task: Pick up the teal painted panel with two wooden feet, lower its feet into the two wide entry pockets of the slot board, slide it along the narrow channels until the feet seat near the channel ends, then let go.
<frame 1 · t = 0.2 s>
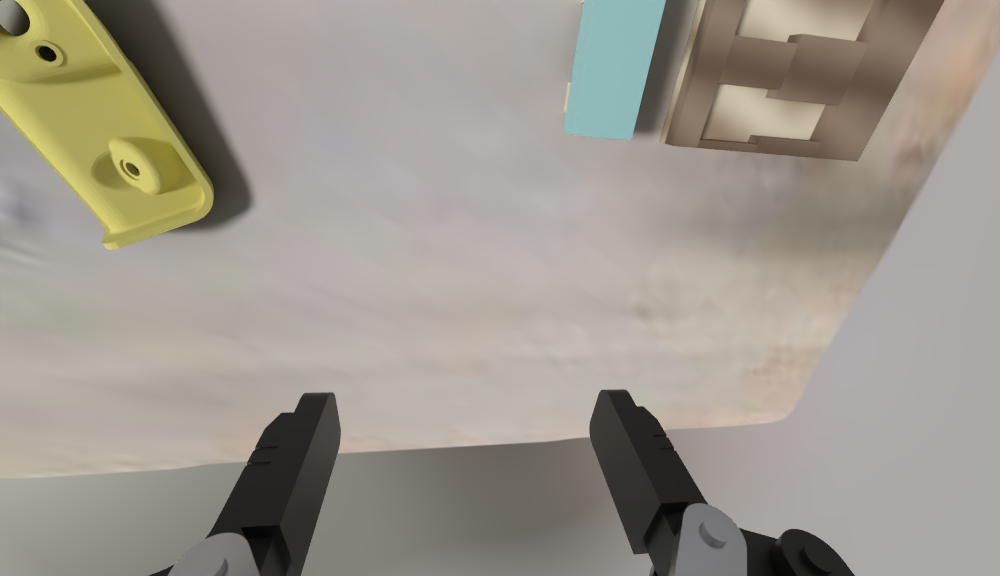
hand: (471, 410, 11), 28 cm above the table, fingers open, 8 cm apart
panel: (596, 47, 32), on the table
plastic component: (109, 106, 30), on the table
slot board: (782, 69, 34), on the table
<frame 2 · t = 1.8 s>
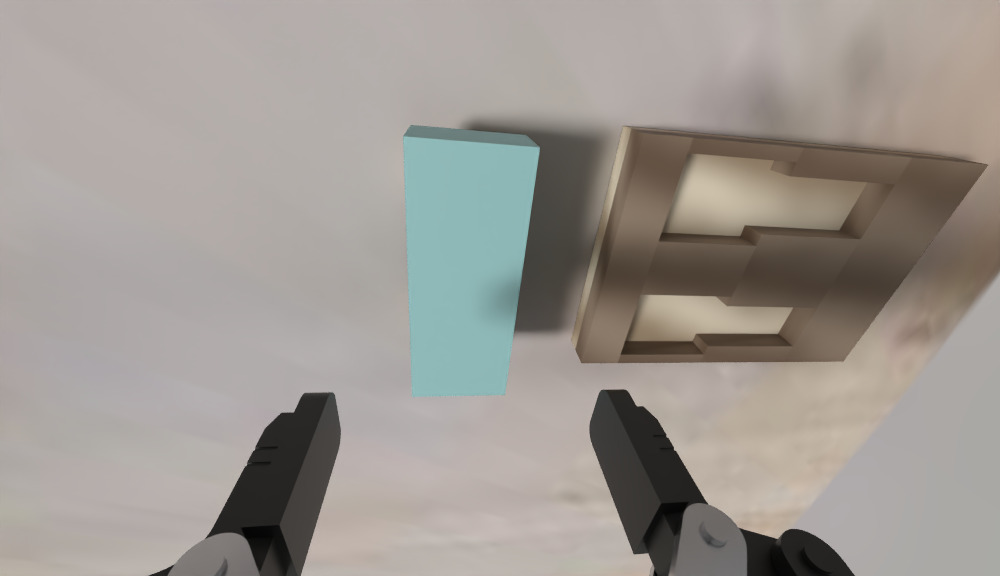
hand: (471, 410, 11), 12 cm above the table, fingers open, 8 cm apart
panel: (461, 244, 21), on the table
slot board: (739, 255, 24), on the table
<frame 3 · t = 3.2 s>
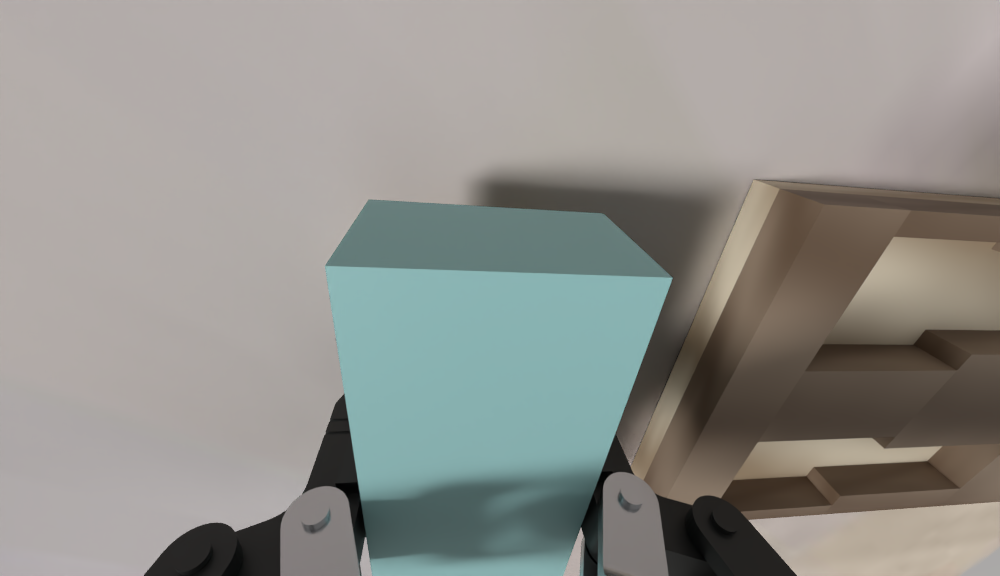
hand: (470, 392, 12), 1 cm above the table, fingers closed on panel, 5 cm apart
panel: (469, 362, 13), on the table, touching gripper
slot board: (891, 361, 16), on the table
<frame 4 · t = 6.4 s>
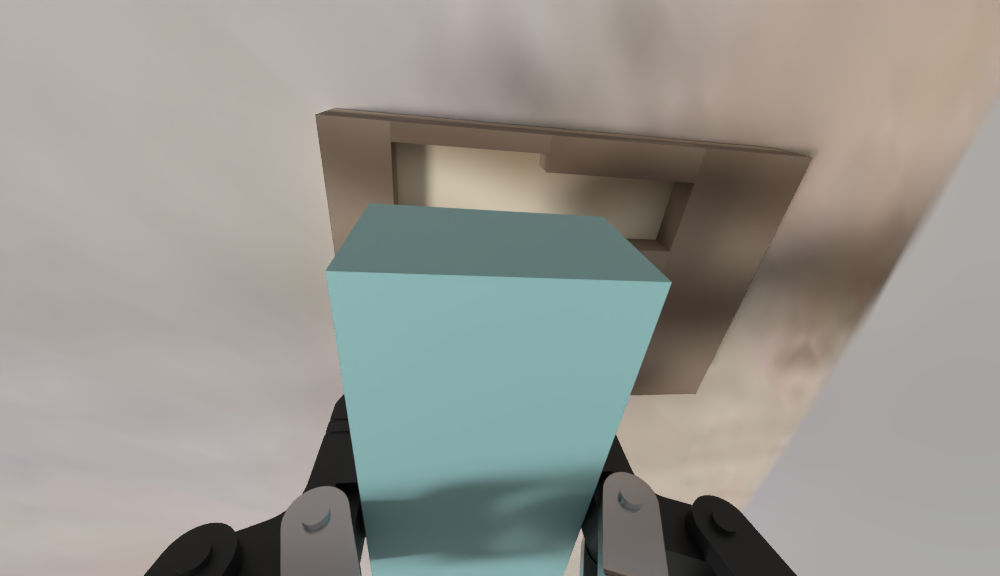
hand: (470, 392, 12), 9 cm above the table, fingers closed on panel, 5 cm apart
panel: (469, 364, 13), point 7 cm above the table, touching gripper
slot board: (547, 269, 20), on the table
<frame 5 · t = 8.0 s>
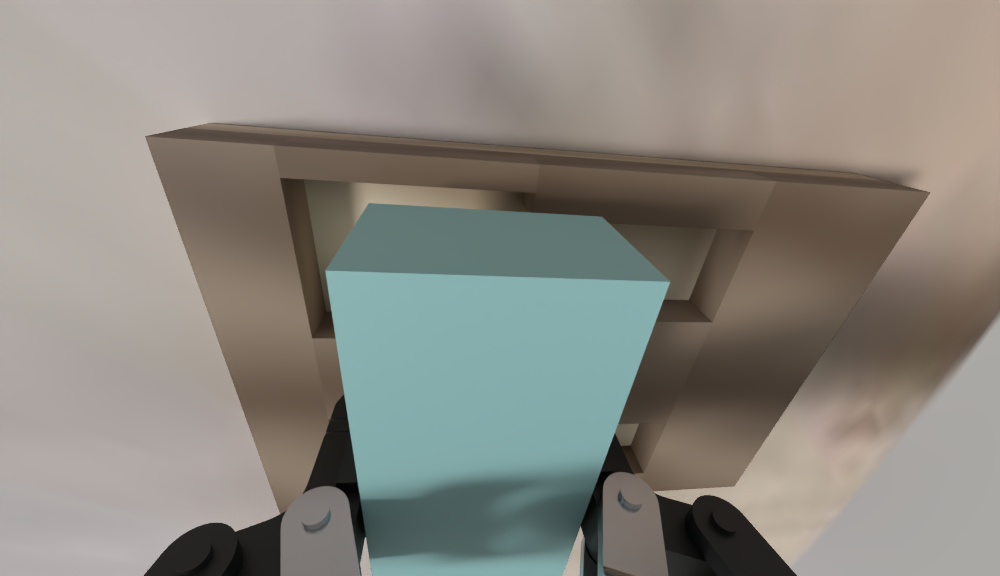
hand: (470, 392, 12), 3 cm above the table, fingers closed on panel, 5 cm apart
panel: (469, 364, 13), point 1 cm above the table, touching gripper
slot board: (538, 335, 15), on the table
when the fingers open (3 cm above the table, at t = 9.5 s): panel stays where it is, resting on slot board.
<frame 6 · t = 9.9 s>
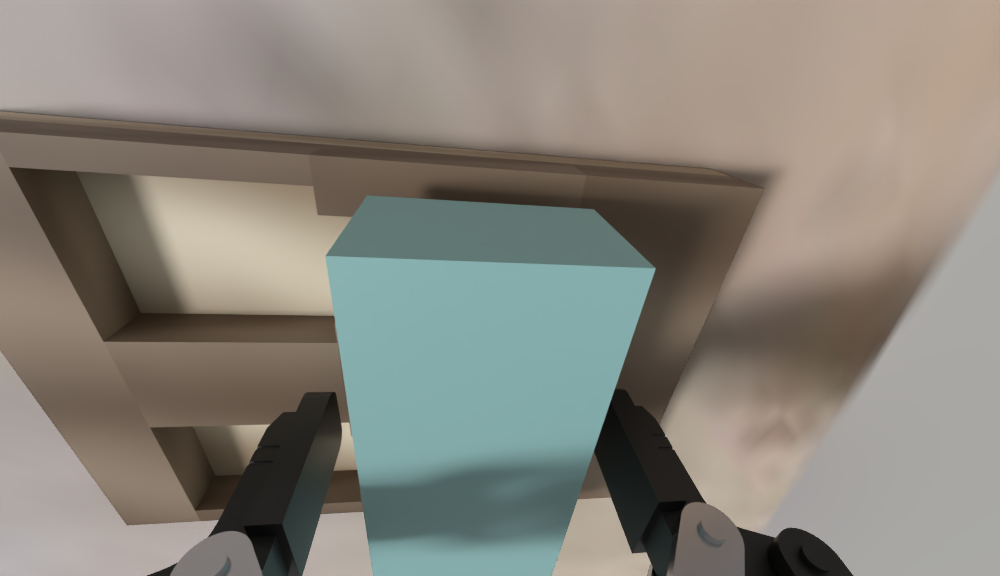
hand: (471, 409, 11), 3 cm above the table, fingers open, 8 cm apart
panel: (466, 356, 13), point 1 cm above the table, touching slot board
slot board: (401, 339, 14), on the table
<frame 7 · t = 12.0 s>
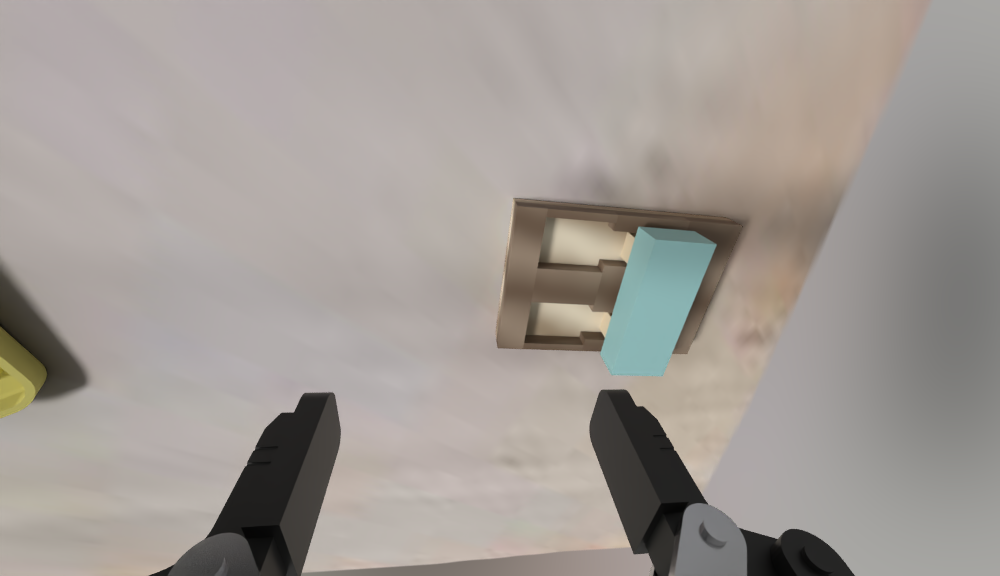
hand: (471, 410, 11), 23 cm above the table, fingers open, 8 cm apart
panel: (632, 284, 36), point 1 cm above the table, touching slot board
slot board: (604, 278, 36), on the table
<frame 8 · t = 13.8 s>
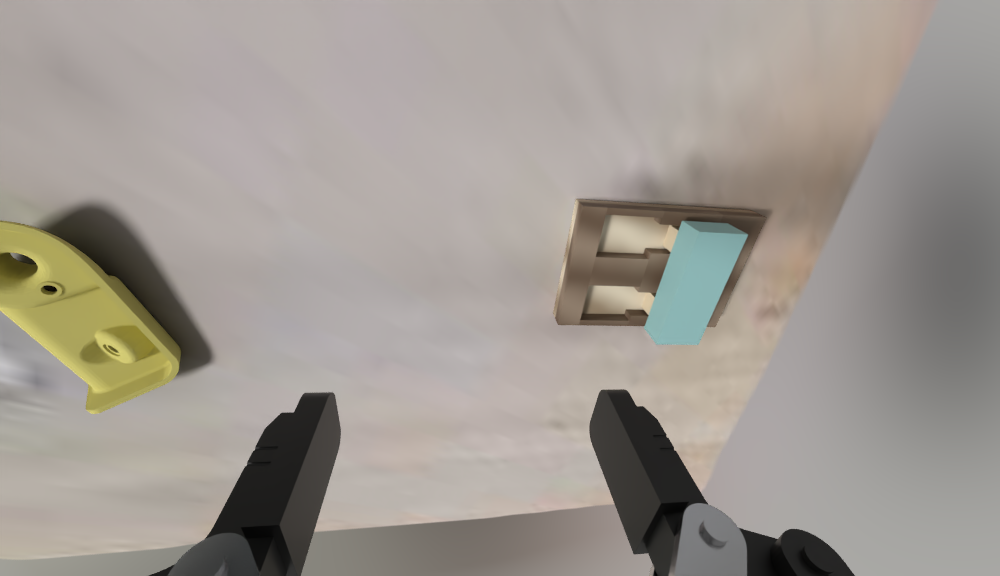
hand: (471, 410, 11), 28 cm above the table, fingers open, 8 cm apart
panel: (671, 268, 42), point 1 cm above the table, touching slot board
plastic component: (96, 298, 38), on the table
slot board: (647, 264, 43), on the table
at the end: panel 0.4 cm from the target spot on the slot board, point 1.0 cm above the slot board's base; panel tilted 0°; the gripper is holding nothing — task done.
